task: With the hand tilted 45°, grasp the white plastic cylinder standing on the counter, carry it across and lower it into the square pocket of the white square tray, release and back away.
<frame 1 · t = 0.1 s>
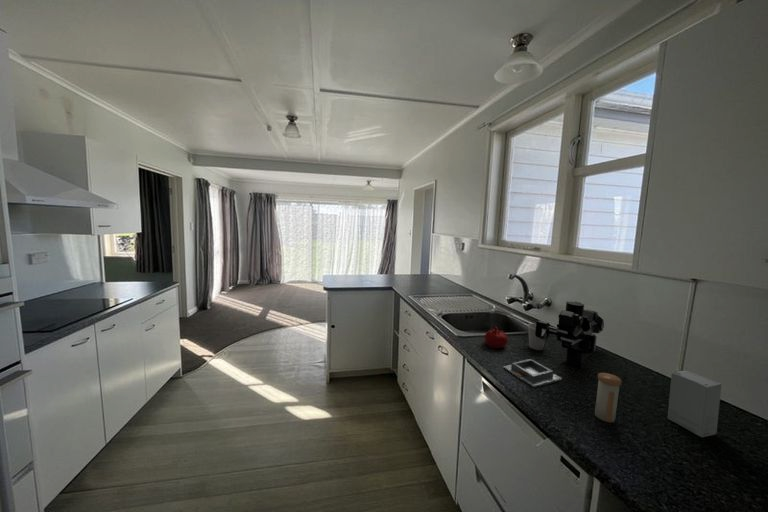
hand: (556, 342, 98), 17 cm above the worktop, tool horizontal, fingers open, 9 cm apart
skincare box: (689, 426, 82), on the worktop
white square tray: (531, 374, 108), on the worktop
dixie cup: (536, 347, 131), on the worktop
pomegranate: (495, 346, 132), on the worktop
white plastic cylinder: (604, 416, 85), on the worktop
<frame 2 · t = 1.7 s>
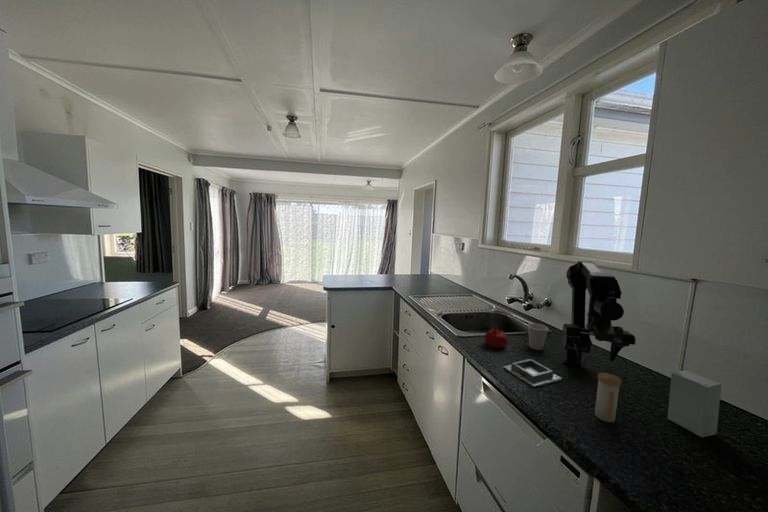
hand: (594, 358, 95), 13 cm above the worktop, tool pointing down, fingers open, 9 cm apart
nothing on the worktop moved.
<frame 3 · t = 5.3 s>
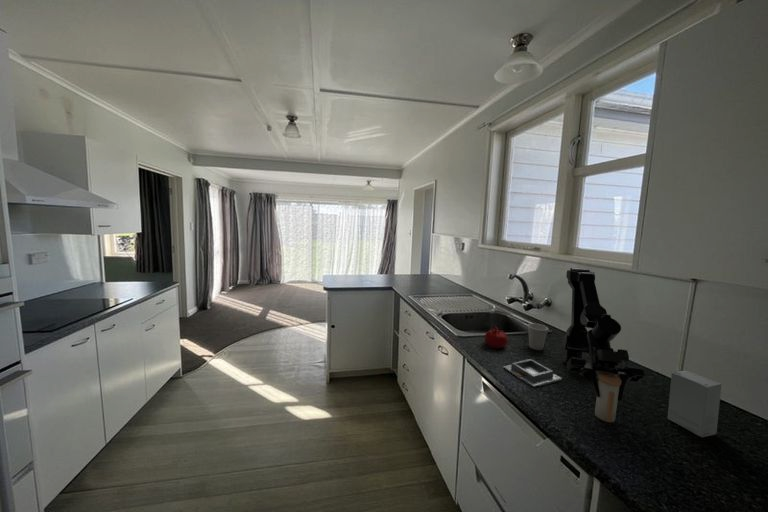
hand: (609, 398, 83), 7 cm above the worktop, tool tilted 45°, fingers closed on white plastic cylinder, 5 cm apart
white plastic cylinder: (604, 416, 85), on the worktop, touching gripper
everything else where it was.
when the fingers open (8 cm above the worktop, at t = 9.3 s): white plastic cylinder stays where it is, resting on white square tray.
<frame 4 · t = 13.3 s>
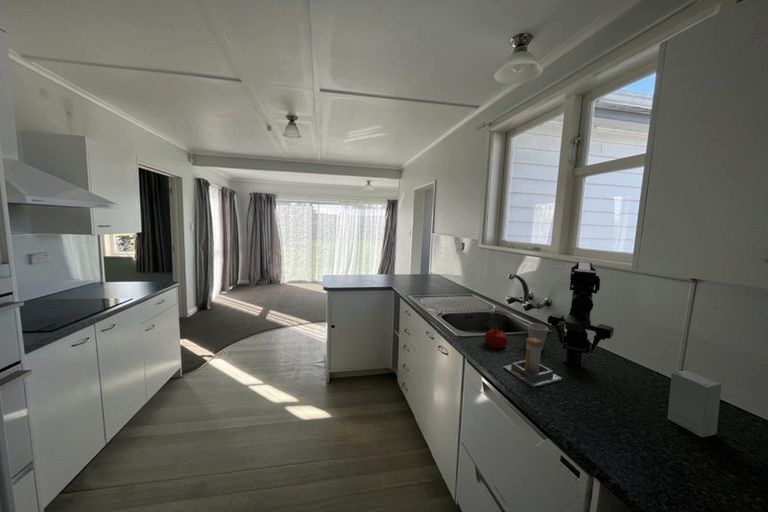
hand: (576, 348, 101), 13 cm above the worktop, tool pointing down, fingers open, 9 cm apart
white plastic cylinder: (531, 372, 108), point 1 cm above the worktop, touching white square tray
everything else where it was.
at the end: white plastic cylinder inside the target area on the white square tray (0.0 cm from its centre), point 0.8 cm above the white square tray's base; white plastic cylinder tilted 0°; the gripper is holding nothing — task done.
